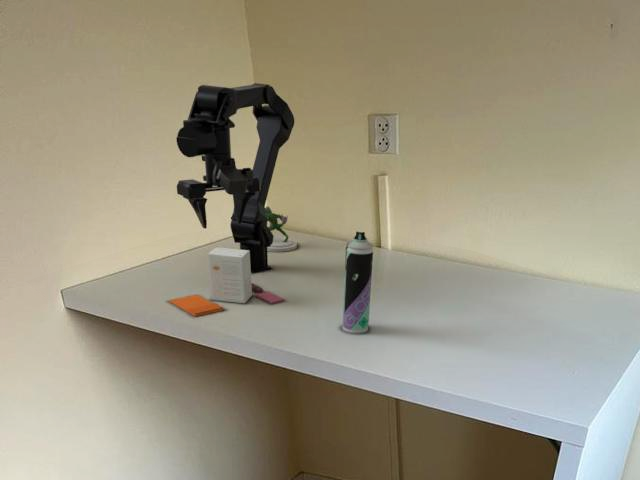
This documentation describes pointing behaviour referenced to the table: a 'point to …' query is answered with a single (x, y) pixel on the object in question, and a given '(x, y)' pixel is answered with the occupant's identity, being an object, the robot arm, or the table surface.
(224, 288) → the small box
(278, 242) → the monster figurine
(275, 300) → the spatula
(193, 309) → the orange flat block
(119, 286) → the table surface
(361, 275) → the spray can
